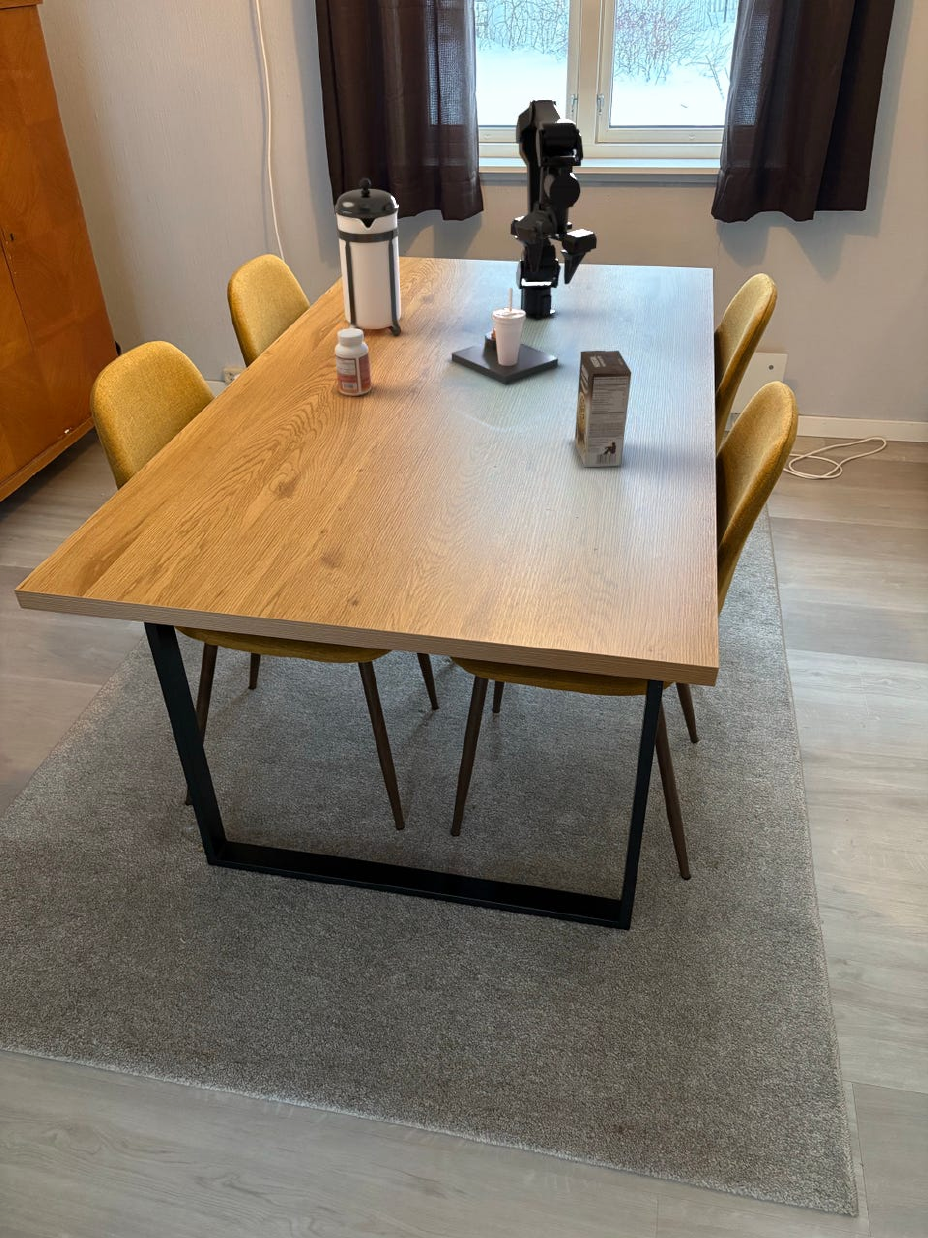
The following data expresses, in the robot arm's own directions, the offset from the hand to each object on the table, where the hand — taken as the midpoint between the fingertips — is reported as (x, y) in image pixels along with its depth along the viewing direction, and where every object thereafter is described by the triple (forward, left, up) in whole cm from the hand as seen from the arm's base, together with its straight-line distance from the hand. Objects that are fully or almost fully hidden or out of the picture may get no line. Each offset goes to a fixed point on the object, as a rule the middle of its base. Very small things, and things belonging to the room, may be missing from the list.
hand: (550, 278), depth 189 cm
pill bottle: (-6, -45, -13) cm, 47 cm away
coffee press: (-32, -22, -13) cm, 41 cm away
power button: (-2, -11, -10) cm, 15 cm away
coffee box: (+42, -30, -13) cm, 53 cm away
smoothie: (+6, -17, -12) cm, 21 cm away
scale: (+3, -15, -13) cm, 20 cm away
